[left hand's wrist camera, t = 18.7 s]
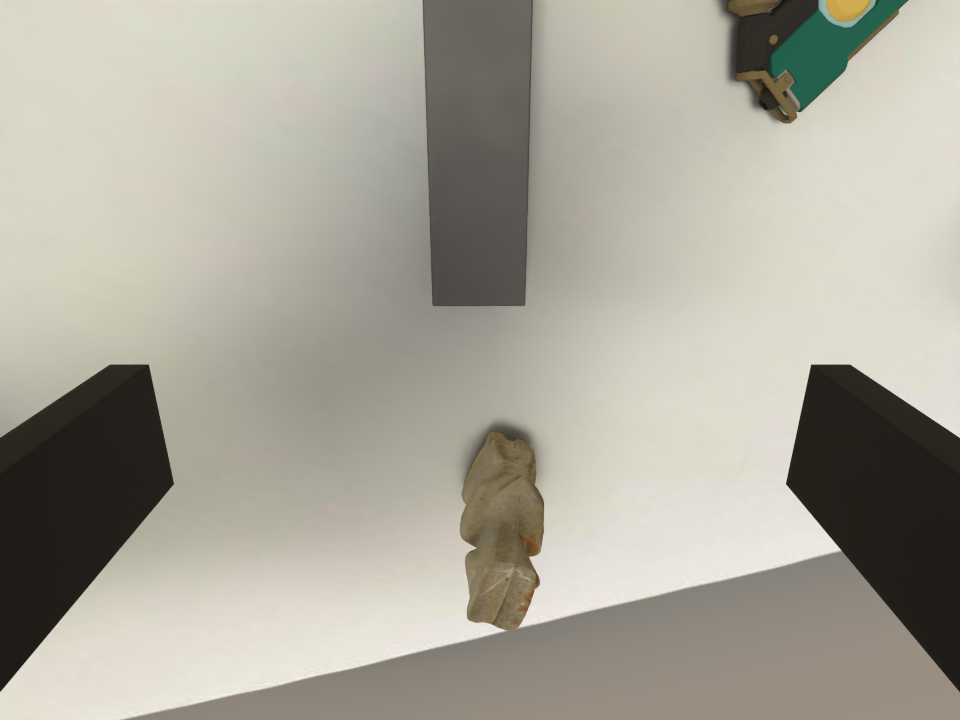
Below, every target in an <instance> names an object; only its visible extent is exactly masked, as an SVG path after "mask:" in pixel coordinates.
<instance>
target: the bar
mask: <svg viewBox="0 0 960 720" xmlns="http://www.w3.org/2000/svg"><path fill="white" fill-rule="evenodd" d="M532 7H533V0H423V25H424V56H425V87H426V118H427V149H428V180H429V211H430V241H431V272H432V303H433V306H524V305H525V291H526V250H527V210H528V169H529V129H530V88H531V47H532Z"/></svg>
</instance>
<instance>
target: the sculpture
mask: <svg viewBox="0 0 960 720" xmlns="http://www.w3.org/2000/svg"><path fill="white" fill-rule="evenodd" d="M535 480H536V460H535V454H534V451H533V449H531V448H530V447H529V444H528V443H527V442H525V441H523V440H520V439H515V440H514V441H510V440H508V439H507V438H506V437H505V436H504V434H502V433H498V432H490V433H489V434H488V436H487V438H486V442H485V444H484V446H483V448H482V449H481V451H480V452H479V453H478V455H477V457H476V458H475V460H474V462H473V464H472V467H471V469H470V471H469V473H468V476H467V478H466V481H465V484H464V487H463V490H462V498H463V501H464V502H465V503H466V504H467V505H466V507H465V509H464V512H463V514H462V517H461V524H460V534H461V537H462V539H463V540H464V541H466V542H467V543H469V544H471V545H473V546H474V547H476V548H477V549H475V550H472V551H470V552H469V553H468V554H467V555H466V558H465V567H466V573H467V579H468V586H469V594H470V600H469V603H468V607H467V618H468V620H469V621H472V622H475V623H480V622H485V623H490V624H492V625H494V626H496V627H498V628H501V629H504V630H508V631H513V630H515V629H517V628H518V627H519V625H520V624H521V622H522V621H523V619H524V617H525V615H526V612H527V610H528V607H529V605H530V603H531V600H532V597H533V594H534V590H535V589H536V588H537V587H539V585H540V580H539V576H538V575H537V573H536V571H535V569H534V567H533V565H532V563H531V561H530V558H529V556H535V555H537V554H539V553H540V551H541V545H542V539H543V533H544V526H543V522H544V501H543V498H542V496H541V494H540V492H539V490H538V489H537V488H536V486H535Z"/></svg>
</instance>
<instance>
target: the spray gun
mask: <svg viewBox="0 0 960 720" xmlns="http://www.w3.org/2000/svg"><path fill="white" fill-rule="evenodd" d="M907 1H908V0H783V1H782V2H781V3H780V4H779V5H778V6H777V7H776V8H775V9H774V10H773V11H772V12H771V13H770V15H769V14H768V13H765V12H766V11H767V10H768V9H769V8H771V7H772V6H773V5H775V4H776V3H778V2H779V0H730V1H729V2H728V10H729V11H731V12H734V13H736V14H738V15H739V16H740V17H742V18H741V19H740V23H739V26H738V42H737V59H736V72H737V74H736V81H738V82H739V81H747V80H749V82H750V83H751V84H752V86H753V87H754V88H755V90H756V91H757V93H758V94H759V95H760V96H759V104H760V106H761V107H762V108H763V109H765V110H767V111H768V110H771V112H772V113H773V114H774V116H775V117H776V118H777V119H778V120H779V121H781V122H783V123H791V122H793V121H794V120H795V119H796V118H797V114H796V112H795V111H797V112H802V111H803V110H804V109H805V108H806V107H807V106H808V105H809V104H810V103H811V102H812V101H813V100H814V99H816V98H817V97H818V96H819V95H820V94H821V93H822V92H823V91H824V90H825V89H826V88H827V87H828V86H829V85H830V84H832V83H833V82H834V81H835V80H836V79H837V78H838V77H839V76H840V75H841V74H842V73H843V72H844V71H845V69H846V67H847V63H848V61H849V60H850V59H851V58H852V57H853V56H854V55H855V54H856V53H857V52H859V51H860V50H861V49H862V48H863V47H864V46H865V45H866V44H867V43H868V42H869V41H870V40H871V39H872V38H873V37H875V36H876V35H877V34H878V33H879V32H880V31H881V30H882V29H883V28H884V27H885V26H886V25H887V24H888V23H889V22H891V21H892V20H893V19H894V18H895V17H896V16H897V15H898V13H899V10H898V9H899V8H901V7H902V6H903V5H904V4H905V3H906V2H907ZM757 69H759V70H760V71H755V70H757ZM758 79H762V80H763V83H762V84H761V83H760V82H759V81H758ZM779 104H780V105H781V107H782V108H783V110H784V111H785V112H786V114H787V115H788V116H787V115H785V114H783V113H782V112H781V111H780V109H779V108H778V107H777V106H778V105H779Z"/></svg>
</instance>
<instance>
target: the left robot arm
mask: <svg viewBox="0 0 960 720" xmlns="http://www.w3.org/2000/svg"><path fill="white" fill-rule="evenodd" d="M173 485H174V482H173V477H172V472H171V468H170V463H169V458H168V453H167V449H166V444H165V439H164V435H163V430H162V425H161V420H160V416H159V411H158V406H157V401H156V397H155V392H154V387H153V383H152V378H151V373H150V368H149V365H109V366H107V367H106V368H104V369H103V370H101V371H100V372H98V373H97V374H95V375H94V376H92V377H91V378H89V379H88V380H86V381H85V382H83V383H82V384H80V385H79V386H77V387H76V388H74V389H73V390H71V391H70V392H68V393H67V394H65V395H64V396H62V397H61V398H59V399H58V400H56V401H55V402H53V403H52V404H50V405H49V406H47V407H46V408H44V409H43V410H41V411H40V412H38V413H37V414H35V415H34V416H32V417H31V418H29V419H28V420H26V421H25V422H23V423H22V424H20V425H19V426H17V427H16V428H14V429H13V430H11V431H10V432H8V433H7V434H5V435H4V436H2V437H1V438H0V692H1V690H2V689H3V688H4V687H5V686H6V684H7V683H8V682H9V681H10V680H11V678H12V677H13V676H14V675H15V674H16V672H17V671H18V670H19V669H20V668H21V666H22V665H23V664H24V663H25V662H26V660H27V659H28V658H29V657H30V656H31V654H32V653H33V652H34V651H35V650H36V649H37V647H38V646H39V645H40V644H41V643H42V641H43V640H44V639H45V638H46V637H47V635H48V634H49V633H50V632H51V631H52V629H53V628H54V627H55V626H56V625H57V623H58V622H59V621H60V620H61V619H62V617H63V616H64V615H65V614H66V613H67V611H68V610H69V609H70V608H71V607H72V605H73V604H74V603H75V602H76V601H77V599H78V598H79V597H80V596H81V595H82V593H83V592H84V591H85V590H86V589H87V587H88V586H89V585H90V584H91V583H92V581H93V580H94V579H95V578H96V577H97V575H98V574H99V573H100V572H101V571H102V570H103V568H104V567H105V566H106V565H107V564H108V562H109V561H110V560H111V559H112V558H113V556H114V555H115V554H116V553H117V552H118V550H119V549H120V548H121V547H122V546H123V544H124V543H125V542H126V541H127V540H128V538H129V537H130V536H131V535H132V534H133V532H134V531H135V530H136V529H137V528H138V526H139V525H140V524H141V523H142V522H143V520H144V519H145V518H146V517H147V516H148V514H149V513H150V512H151V511H152V510H153V508H154V507H155V506H156V505H157V504H158V502H159V501H160V500H161V499H162V498H163V496H164V495H165V494H166V493H167V492H168V491H169V489H170V488H171V487H172V486H173ZM786 485H787V486H788V487H789V488H790V489H791V491H792V492H793V493H794V494H795V495H796V496H797V498H798V499H799V500H800V501H801V502H802V504H803V505H804V506H805V507H806V508H807V510H808V511H809V512H810V513H811V514H812V516H813V517H814V518H815V519H816V520H817V522H818V523H819V524H820V525H821V526H822V528H823V529H824V530H825V531H826V532H827V534H828V535H829V536H830V537H831V538H832V540H833V541H834V542H835V543H836V544H837V546H838V547H839V548H840V549H841V550H842V552H843V553H844V554H845V555H846V556H847V558H848V559H849V560H850V561H851V562H852V564H853V565H854V566H855V567H856V568H857V569H858V571H859V572H860V573H861V574H862V575H863V577H864V578H865V579H866V580H867V581H868V583H869V584H870V585H871V586H872V587H873V589H874V590H875V591H876V592H877V593H878V595H879V596H880V597H881V598H882V599H883V601H884V602H885V603H886V604H887V605H888V607H889V608H890V609H891V610H892V611H893V613H894V614H895V615H896V616H897V617H898V619H899V620H900V621H901V622H902V623H903V625H904V626H905V627H906V628H907V629H908V631H909V632H910V633H911V634H912V635H913V637H914V638H915V639H916V640H917V641H918V643H919V644H920V645H921V646H922V647H923V649H924V650H925V651H926V652H927V653H928V654H929V656H930V657H931V658H932V659H933V660H934V662H935V663H936V664H937V665H938V666H939V668H940V669H941V670H942V671H943V672H944V674H945V675H946V676H947V677H948V678H949V680H950V681H951V682H952V683H953V684H954V686H955V687H956V688H957V689H958V690H959V692H960V438H959V437H958V436H956V435H955V434H953V433H952V432H950V431H949V430H947V429H946V428H944V427H943V426H941V425H940V424H938V423H937V422H935V421H934V420H932V419H931V418H929V417H928V416H926V415H925V414H923V413H922V412H920V411H919V410H917V409H916V408H914V407H913V406H911V405H910V404H908V403H907V402H905V401H904V400H902V399H901V398H899V397H898V396H896V395H895V394H893V393H892V392H890V391H889V390H887V389H886V388H884V387H883V386H881V385H880V384H878V383H877V382H875V381H874V380H872V379H871V378H869V377H868V376H866V375H865V374H863V373H862V372H860V371H859V370H857V369H856V368H854V367H853V366H851V365H811V368H810V373H809V378H808V383H807V387H806V392H805V397H804V401H803V406H802V411H801V416H800V420H799V425H798V430H797V435H796V439H795V444H794V449H793V453H792V458H791V463H790V468H789V472H788V477H787V482H786Z"/></svg>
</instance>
